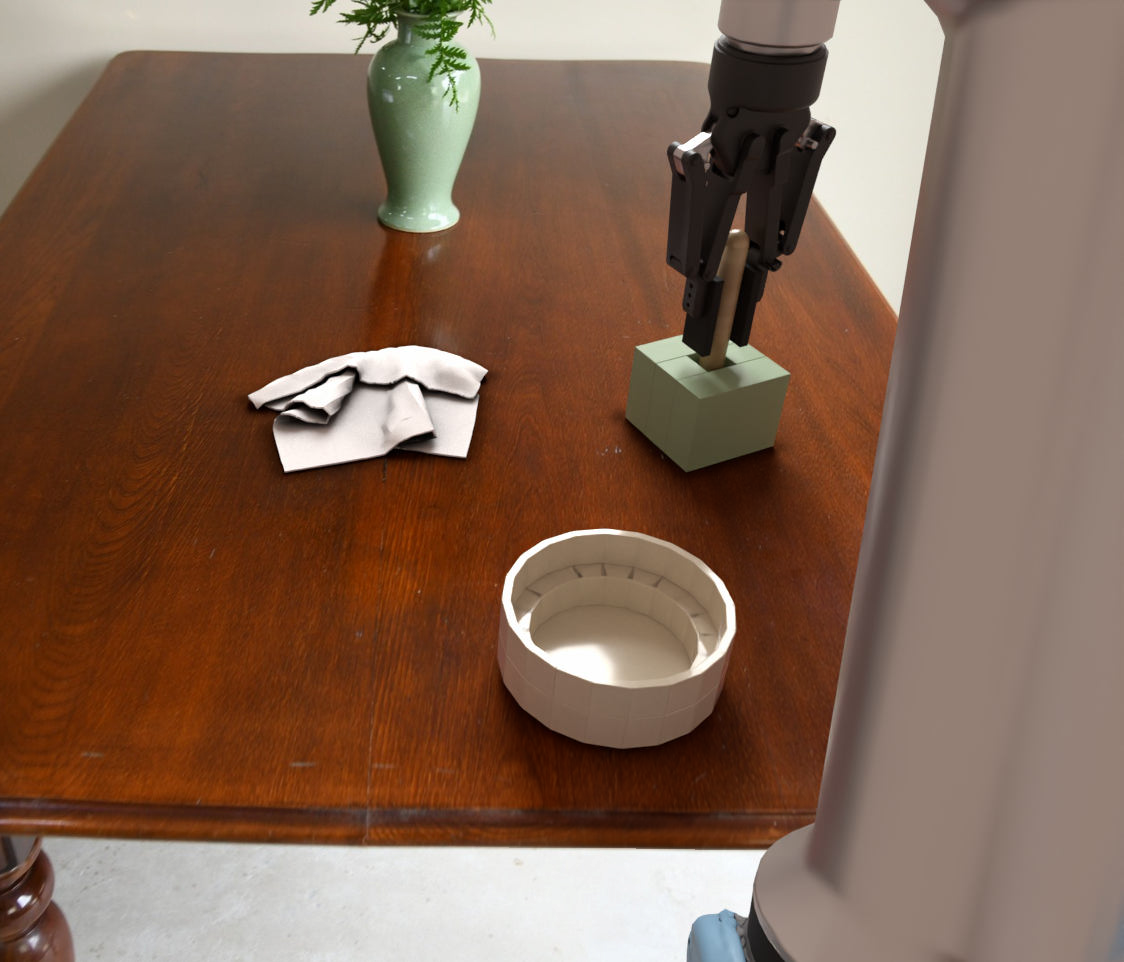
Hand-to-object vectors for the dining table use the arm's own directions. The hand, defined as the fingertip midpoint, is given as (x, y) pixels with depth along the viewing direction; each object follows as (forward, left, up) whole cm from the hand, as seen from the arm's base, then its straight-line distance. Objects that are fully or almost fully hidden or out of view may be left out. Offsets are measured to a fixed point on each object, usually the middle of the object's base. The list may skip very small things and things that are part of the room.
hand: (714, 343), depth 90 cm
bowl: (-20, +22, -9) cm, 31 cm away
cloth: (+15, +24, -9) cm, 30 cm away
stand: (0, 0, -9) cm, 9 cm away
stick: (0, 0, -9) cm, 9 cm away
